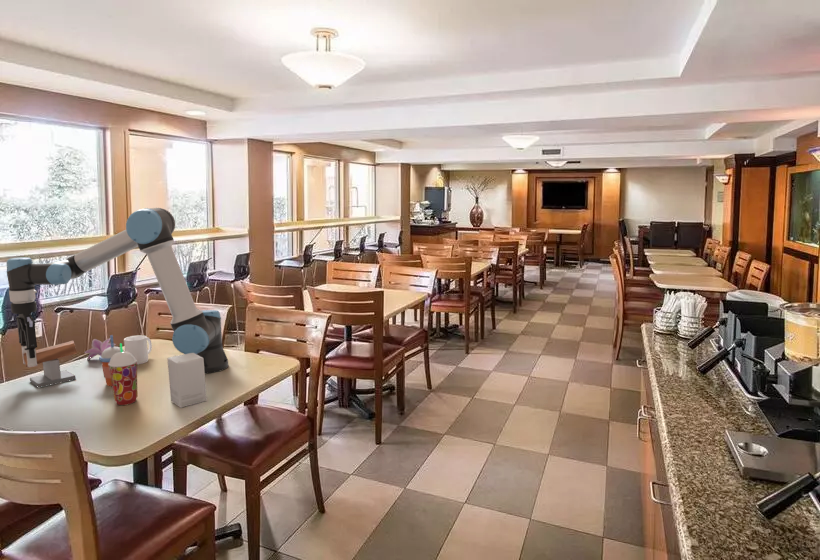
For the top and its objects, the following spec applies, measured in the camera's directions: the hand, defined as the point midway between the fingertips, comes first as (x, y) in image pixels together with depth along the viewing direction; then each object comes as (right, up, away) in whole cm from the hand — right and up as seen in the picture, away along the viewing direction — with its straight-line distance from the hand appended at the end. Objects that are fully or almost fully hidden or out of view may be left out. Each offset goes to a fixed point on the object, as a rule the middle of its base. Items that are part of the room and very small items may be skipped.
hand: (30, 364), depth 202 cm
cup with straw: (+30, -7, +2) cm, 31 cm away
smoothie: (+43, -10, -17) cm, 47 cm away
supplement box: (+64, -10, -16) cm, 67 cm away
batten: (+6, +2, +4) cm, 7 cm away
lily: (+8, -3, +31) cm, 33 cm away
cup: (+26, -3, +29) cm, 39 cm away
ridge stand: (+4, -7, +6) cm, 10 cm away
